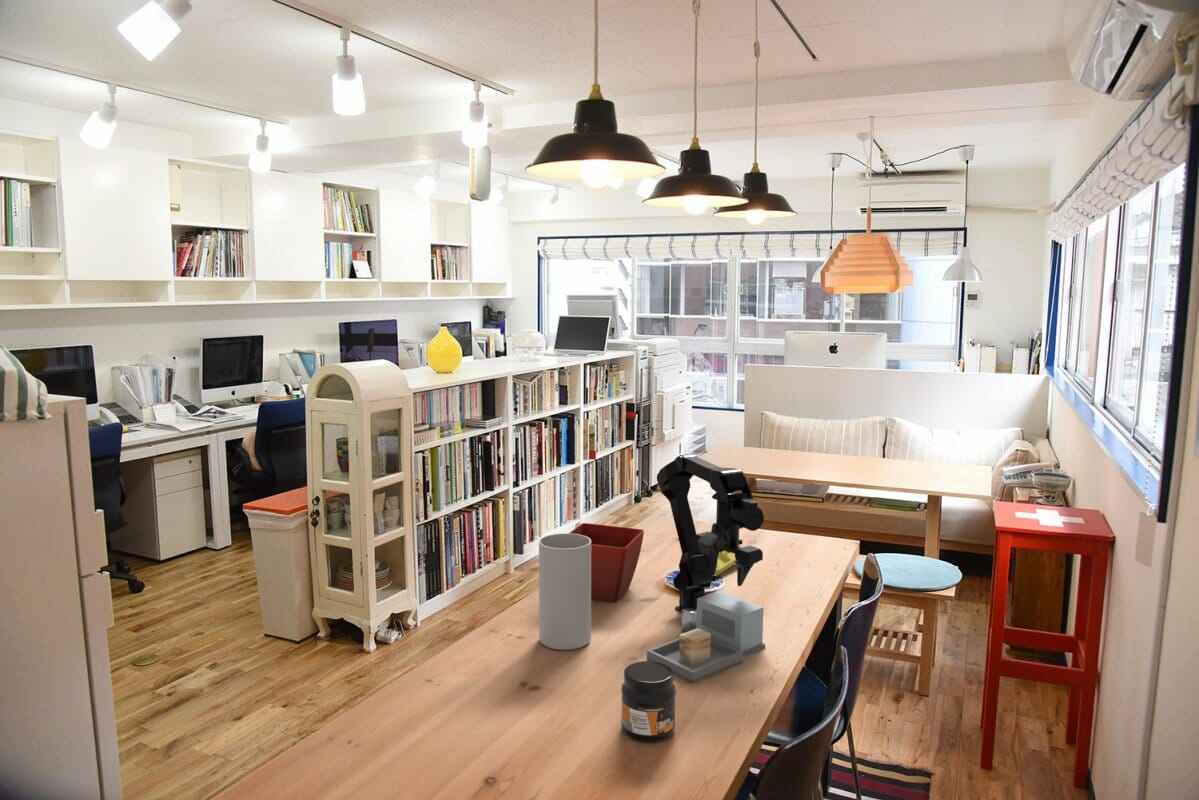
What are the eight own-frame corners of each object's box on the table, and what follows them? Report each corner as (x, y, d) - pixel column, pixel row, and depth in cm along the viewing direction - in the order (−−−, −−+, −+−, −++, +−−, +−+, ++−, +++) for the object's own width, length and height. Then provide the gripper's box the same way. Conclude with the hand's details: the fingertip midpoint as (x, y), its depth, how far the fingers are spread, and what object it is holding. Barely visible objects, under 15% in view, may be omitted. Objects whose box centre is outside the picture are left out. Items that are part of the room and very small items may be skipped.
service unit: (693, 637, 206) (694, 598, 204) (718, 627, 211) (718, 589, 210) (740, 657, 194) (741, 616, 193) (765, 647, 200) (766, 607, 199)
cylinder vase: (599, 635, 206) (599, 537, 203) (576, 655, 195) (576, 551, 192) (554, 626, 212) (554, 530, 208) (529, 645, 200) (529, 544, 197)
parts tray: (646, 660, 193) (646, 650, 192) (696, 641, 203) (696, 631, 203) (692, 683, 182) (693, 672, 181) (743, 662, 192) (743, 651, 192)
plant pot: (644, 585, 242) (645, 528, 239) (624, 609, 224) (625, 548, 221) (582, 577, 248) (582, 522, 245) (558, 600, 230) (558, 540, 228)
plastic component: (715, 571, 246) (689, 551, 251) (706, 590, 250) (681, 570, 254) (748, 550, 262) (723, 532, 266) (739, 568, 265) (714, 550, 270)
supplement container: (635, 749, 156) (636, 688, 154) (612, 722, 165) (612, 665, 164) (685, 737, 160) (686, 678, 158) (659, 712, 169) (660, 655, 168)
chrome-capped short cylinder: (677, 629, 210) (677, 610, 210) (689, 625, 213) (690, 606, 212) (690, 635, 207) (690, 616, 206) (702, 630, 210) (703, 611, 209)
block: (679, 659, 192) (679, 634, 191) (697, 652, 196) (697, 627, 195) (691, 665, 189) (692, 640, 188) (710, 658, 193) (711, 633, 192)
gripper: (678, 516, 209) (676, 576, 211) (733, 535, 194) (731, 599, 197) (709, 509, 216) (707, 567, 218) (765, 526, 201) (762, 588, 203)
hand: (725, 580), depth 209 cm, fingers open, 9 cm apart
